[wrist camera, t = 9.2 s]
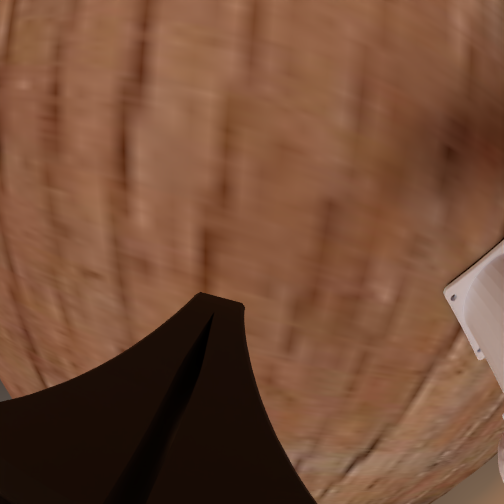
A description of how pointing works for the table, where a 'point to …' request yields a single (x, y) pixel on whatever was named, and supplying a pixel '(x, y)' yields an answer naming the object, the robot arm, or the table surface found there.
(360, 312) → the table surface
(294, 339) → the table surface
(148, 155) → the table surface
